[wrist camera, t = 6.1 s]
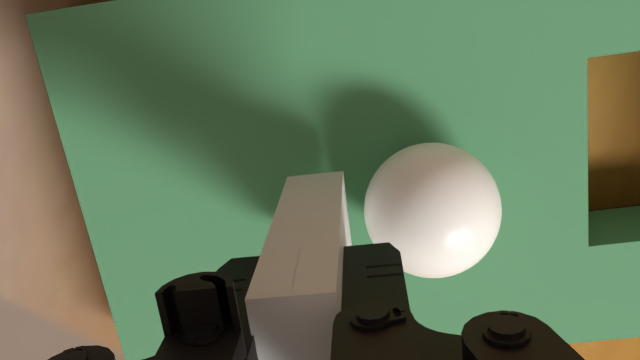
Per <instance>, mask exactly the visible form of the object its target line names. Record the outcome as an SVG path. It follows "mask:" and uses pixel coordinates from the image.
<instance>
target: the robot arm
mask: <svg viewBox="0 0 640 360" xmlns="http://www.w3.org/2000/svg"><path fill="white" fill-rule="evenodd" d="M155 298H156V302H157V306H158V311H159V315H160V319H161V323H162V328H163V332H164V336H165V337H164V339H163V341H162V343H161V345H160V347H159V348H158V350H157V352H156V354H155V356H152V357H149V358H146V359H143V360H585V359H583V358H582V357H581V356H580V355H579V354H578V353H577V352H576V351H575V350H574V349H573V348H572V347H571V346H570V345H569V344H568V343H566V342H565V341H564V340H563V339H562V338H561V337H560V336H559V335H558V334H557V333H556V332H555V331H554V330H553V329H552V328H550V327H549V326H548V325H547V324H546V323H544V322H542V321H541V320H539V319H538V318H536V317H534V316H530V315H527V314H524V313H521V312H516V311H508V310H500V311H494V312H486V313H483V314H481V315H478V316H475V317H473V318H472V319H470V320H469V321H468V322H467V323H465V324H464V327H463V329H462V332H461V335H456V334H448V333H443V332H438V331H435V330H432V329H429V328H426V327H425V326H423V325H421V324H420V323H418V322H417V321H416V320H415V319H414V316H413V314H412V313H411V311H410V306H409V300H408V294H407V289H406V283H405V277H404V271H403V265H402V259H401V254H400V251H399V250H398V249H396V248H395V247H394V246H393V245H392V244H390V243H389V242H387V243H376V244H365V245H354V246H352V242H351V234H350V225H349V217H348V208H347V200H346V191H345V183H344V174H343V171H339V172H329V173H319V174H309V175H300V176H290V177H287V179H286V182H285V185H284V188H283V191H282V194H281V197H280V199H279V202H278V205H277V208H276V211H275V214H274V217H273V220H272V222H271V225H270V228H269V231H268V234H267V237H266V240H265V243H264V246H263V248H262V251H261V254H260V256H252V257H241V258H231V259H230V260H229V261H227V262H226V263H225V264H224V265H222V266H221V267H220V268H219V269H217V271H216V272H198V273H192V274H187V275H184V276H182V277H179V278H176V279H173V280H171V281H170V282H168V283H166V284H164V285H163V286H161V287H160V288H159V289H158V290H157V291H156V292H155ZM48 360H115V356H114V353H113V352H112V351H111V350H110V349H109V348H106V347H102V346H98V345H96V346H80V347H76V348H71V349H67V350H65V351H63V352H62V353H60V354H58V355H56V356H53V357H51V358H50V359H48Z"/></svg>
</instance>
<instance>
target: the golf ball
mask: <svg viewBox="0 0 640 360" xmlns="http://www.w3.org/2000/svg"><path fill="white" fill-rule="evenodd" d="M501 218H502V205H501V198H500V194H499V190H498V187H497V185H496V182H495V180H494V179H493V177H492V175H491V174H490V172H489V171H488V170H487V168H486V167H485V166H484V165H483V164H482V163H481V162H480V161H479V160H478V159H477V158H476V157H474V156H473V155H471V154H470V153H468V152H467V151H465V150H463V149H461V148H458V147H455V146H452V145H448V144H443V143H433V142H432V143H421V144H416V145H412V146H409V147H406V148H404V149H402V150H400V151H398V152H396V153H395V154H393V155H392V156H391V157H389V158H388V159H387V160H386V161H385V162H384V163H383V164H382V165H381V166H380V167H379V168H378V170H377V171H376V172H375V174H374V175H373V177H372V179H371V181H370V183H369V186H368V189H367V192H366V195H365V201H364V219H365V224H366V228H367V231H368V234H369V236H370V239H371V241H372V243H373V244H376V243H387V242H389V243H390V244H392V245H393V246H394V247H395V248H396V249H398V250H399V251H400V254H401V259H402V265H403V271H404V272H406V273H408V274H411V275H414V276H418V277H423V278H444V277H449V276H453V275H456V274H459V273H461V272H463V271H465V270H467V269H469V268H471V267H472V266H474V265H475V264H476V263H478V262H479V261H480V260H481V259H482V258H483V257H484V256H485V255H486V254H487V252H488V251H489V250H490V248H491V247H492V245H493V243H494V241H495V239H496V237H497V235H498V232H499V229H500V224H501Z"/></svg>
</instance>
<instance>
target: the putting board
mask: <svg viewBox="0 0 640 360" xmlns="http://www.w3.org/2000/svg"><path fill="white" fill-rule="evenodd" d="M25 18H26V21H27V24H28V28H29V31H30V35H31V38H32V42H33V45H34V48H35V52H36V55H37V59H38V62H39V66H40V69H41V73H42V76H43V79H44V83H45V86H46V90H47V93H48V97H49V100H50V103H51V107H52V110H53V114H54V117H55V121H56V124H57V128H58V131H59V134H60V138H61V141H62V145H63V148H64V152H65V155H66V158H67V162H68V165H69V169H70V172H71V176H72V179H73V182H74V186H75V189H76V193H77V196H78V200H79V203H80V207H81V210H82V213H83V217H84V220H85V224H86V227H87V231H88V234H89V237H90V241H91V244H92V248H93V251H94V255H95V258H96V262H97V265H98V268H99V272H100V275H101V279H102V282H103V286H104V289H105V292H106V296H107V299H108V303H109V306H110V310H111V313H112V317H113V320H114V323H115V327H116V330H117V334H118V337H119V341H120V344H121V347H122V351H123V354H124V358H125V360H143V359H146V358H149V357H152V356H155V354H156V352H157V350H158V348H159V347H160V345H161V343H162V341H163V339H164V337H165V336H164V332H163V328H162V323H161V319H160V315H159V311H158V306H157V302H156V298H155V292H156V291H157V290H158V289H159V288H160V287H161V286H163V285H164V284H166V283H168V282H170V281H171V280H173V279H176V278H179V277H182V276H184V275H187V274H192V273H198V272H216V271H217V269H219V268H220V267H221V266H222V265H224V264H225V263H226V262H227V261H229V260H230V259H231V258H241V257H252V256H260V254H261V251H262V248H263V246H264V243H265V240H266V237H267V234H268V231H269V228H270V225H271V222H272V220H273V217H274V214H275V211H276V208H277V205H278V202H279V199H280V197H281V194H282V191H283V188H284V185H285V182H286V179H287V177H290V176H300V175H309V174H319V173H329V172H339V171H343V174H344V183H345V191H346V200H347V208H348V217H349V225H350V234H351V242H352V246H354V245H365V244H373V243H372V241H371V239H370V236H369V234H368V231H367V228H366V224H365V219H364V201H365V195H366V192H367V189H368V186H369V183H370V181H371V179H372V177H373V175H374V174H375V172H376V171H377V170H378V168H379V167H380V166H381V165H382V164H383V163H384V162H385V161H386V160H387V159H388V158H389V157H391V156H392V155H393V154H395V153H396V152H398V151H400V150H402V149H404V148H406V147H409V146H412V145H416V144H421V143H432V142H433V143H443V144H448V145H452V146H455V147H458V148H461V149H463V150H465V151H467V152H468V153H470V154H471V155H473V156H474V157H476V158H477V159H478V160H479V161H480V162H481V163H482V164H483V165H484V166H485V167H486V168H487V170H488V171H489V172H490V174H491V175H492V177H493V179H494V180H495V182H496V185H497V187H498V190H499V194H500V198H501V205H502V218H501V224H500V229H499V232H498V235H497V237H496V239H495V241H494V243H493V245H492V247H491V248H490V250H489V251H488V252H487V254H486V255H485V256H484V257H483V258H482V259H481V260H480V261H479V262H478V263H476V264H475V265H474V266H472V267H471V268H469V269H467V270H465V271H463V272H461V273H459V274H456V275H453V276H449V277H444V278H423V277H418V276H414V275H411V274H408V273H406V272H404V277H405V283H406V289H407V294H408V300H409V306H410V311H411V313H412V314H413V316H414V319H415V320H416V321H417V322H418V323H420V324H421V325H423V326H425V327H426V328H429V329H432V330H435V331H438V332H443V333H448V334H456V335H461V332H462V329H463V327H464V324H465V323H467V322H468V321H469V320H470V319H472V318H473V317H475V316H478V315H481V314H483V313H486V312H494V311H500V310H508V311H516V312H521V313H524V314H527V315H530V316H534V317H536V318H538V319H539V320H541V321H542V322H544V323H546V324H547V325H548V326H549V327H550V328H552V329H553V330H554V331H555V332H556V333H557V334H558V335H559V336H560V337H561V338H562V339H563V340H564V341H565V342H566V343H568V344H570V343H581V342H591V341H602V340H613V339H624V338H634V337H640V206H632V207H623V208H614V209H605V210H596V211H588V94H587V58H591V57H599V56H606V55H613V54H621V53H628V52H635V51H640V0H113V1H107V2H100V3H94V4H87V5H81V6H75V7H68V8H62V9H56V10H49V11H43V12H36V13H30V14H25Z"/></svg>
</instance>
